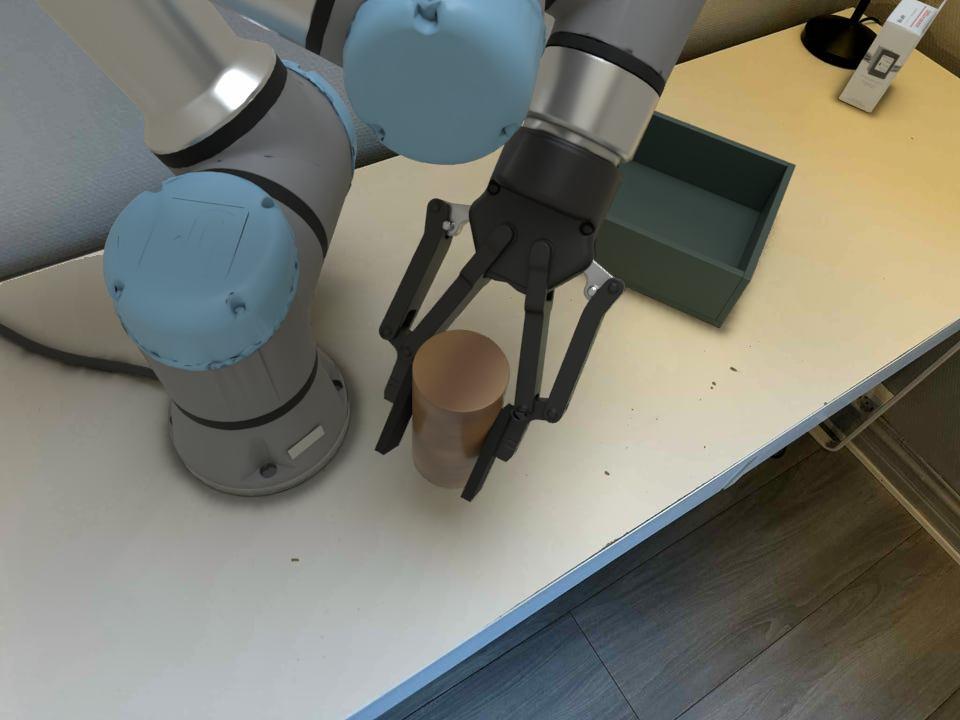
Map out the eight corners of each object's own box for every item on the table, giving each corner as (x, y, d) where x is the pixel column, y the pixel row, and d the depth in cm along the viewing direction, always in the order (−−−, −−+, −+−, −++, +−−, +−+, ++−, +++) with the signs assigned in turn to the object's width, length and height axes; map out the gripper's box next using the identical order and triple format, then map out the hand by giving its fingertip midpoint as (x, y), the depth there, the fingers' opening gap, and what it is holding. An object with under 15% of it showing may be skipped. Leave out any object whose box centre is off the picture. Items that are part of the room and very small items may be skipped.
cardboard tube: (397, 465, 50) (393, 383, 40) (437, 405, 53) (443, 314, 43) (467, 503, 48) (481, 428, 38) (503, 439, 52) (526, 355, 42)
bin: (520, 239, 74) (530, 186, 68) (587, 143, 85) (601, 89, 78) (719, 328, 70) (751, 280, 63) (765, 215, 80) (796, 164, 73)
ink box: (856, 73, 99) (919, -30, 86) (888, 87, 97) (957, -15, 85) (836, 99, 94) (900, -5, 82) (869, 114, 93) (939, 11, 81)
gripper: (713, 212, 42) (561, 517, 47) (453, 104, 46) (338, 398, 51) (723, 199, 35) (542, 560, 40) (414, 73, 39) (284, 419, 44)
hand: (428, 469), depth 46 cm, fingers closed on cardboard tube, 6 cm apart
